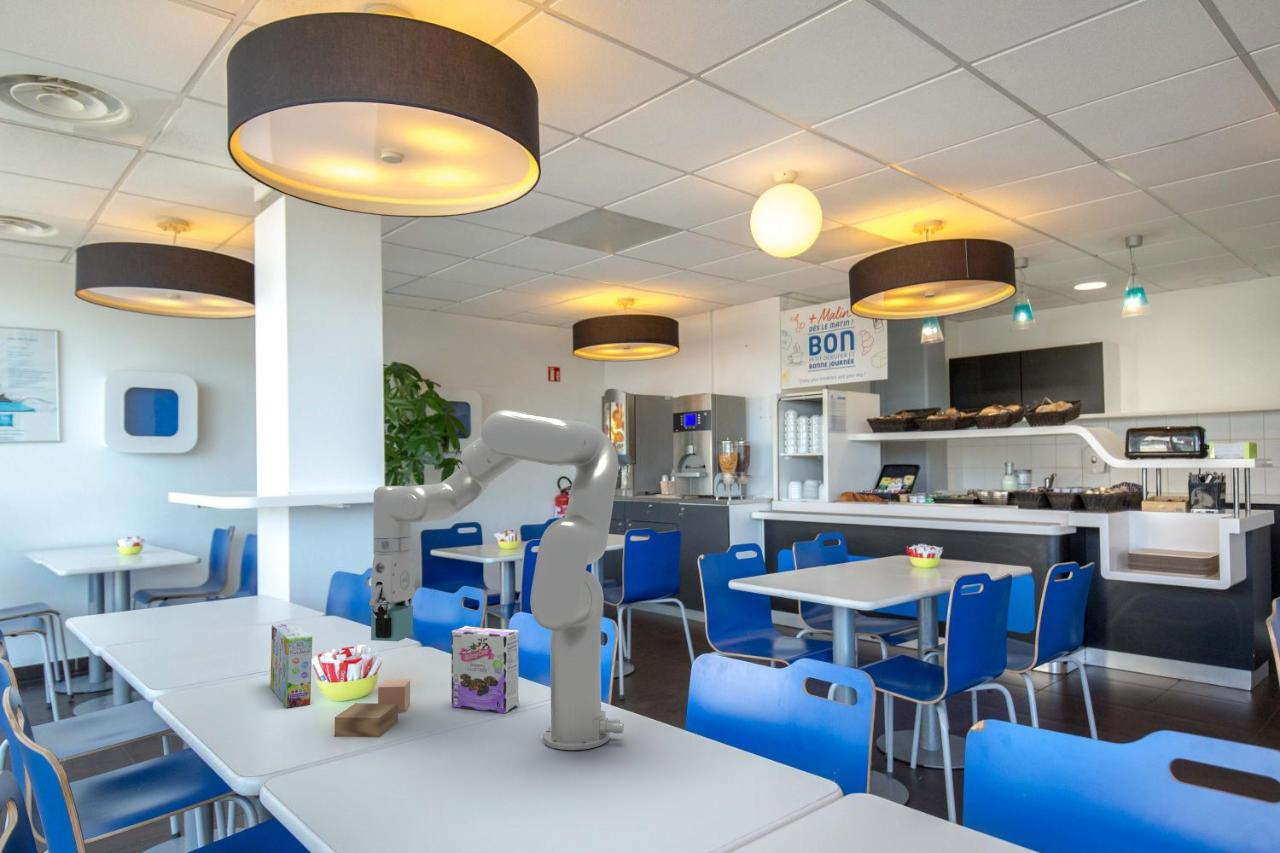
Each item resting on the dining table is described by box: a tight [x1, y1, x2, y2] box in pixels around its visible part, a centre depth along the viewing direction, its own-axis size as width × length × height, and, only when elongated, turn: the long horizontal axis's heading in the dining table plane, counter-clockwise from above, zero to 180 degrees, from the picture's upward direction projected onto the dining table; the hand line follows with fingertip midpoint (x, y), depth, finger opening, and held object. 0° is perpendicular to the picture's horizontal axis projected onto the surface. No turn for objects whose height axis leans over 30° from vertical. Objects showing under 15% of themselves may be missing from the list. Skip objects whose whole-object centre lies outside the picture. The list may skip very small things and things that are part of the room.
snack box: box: [269, 621, 313, 709], centre depth 182 cm, size 21×6×15 cm, turn 34°
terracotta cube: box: [377, 679, 411, 714], centre depth 170 cm, size 6×6×6 cm
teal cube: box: [370, 604, 414, 642], centre depth 163 cm, size 6×6×6 cm
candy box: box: [451, 625, 519, 714], centre depth 171 cm, size 14×6×16 cm, turn 68°
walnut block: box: [334, 702, 399, 738], centre depth 157 cm, size 9×9×4 cm
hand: (392, 633), depth 163 cm, fingers closed on teal cube, 6 cm apart
